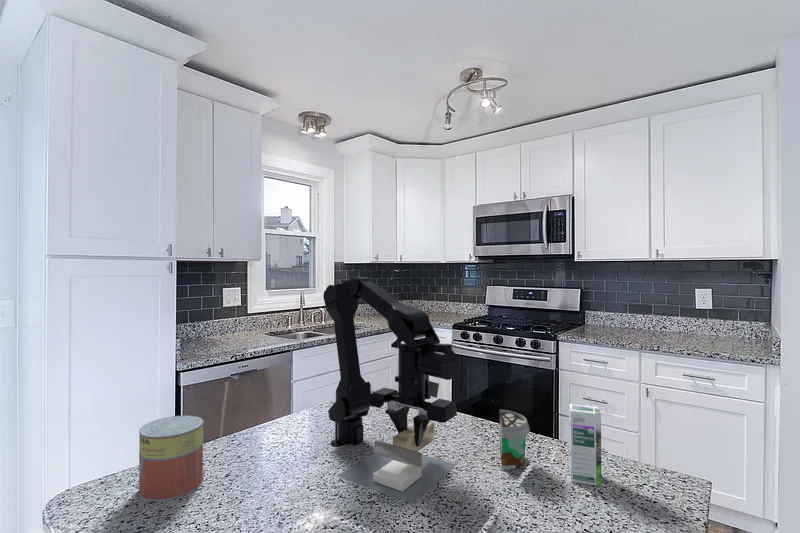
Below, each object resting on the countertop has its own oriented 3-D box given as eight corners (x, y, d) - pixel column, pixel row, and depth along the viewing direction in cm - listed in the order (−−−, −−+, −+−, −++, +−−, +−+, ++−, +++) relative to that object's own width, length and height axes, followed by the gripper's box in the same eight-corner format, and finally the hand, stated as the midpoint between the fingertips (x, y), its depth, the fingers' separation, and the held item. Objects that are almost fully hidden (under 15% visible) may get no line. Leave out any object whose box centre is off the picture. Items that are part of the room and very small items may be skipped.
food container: (532, 479, 85) (532, 430, 85) (501, 476, 86) (501, 428, 86) (526, 453, 97) (526, 410, 97) (499, 450, 98) (499, 408, 98)
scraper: (407, 433, 96) (407, 416, 96) (449, 444, 90) (449, 426, 90) (374, 453, 86) (374, 434, 86) (419, 467, 80) (419, 446, 80)
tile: (393, 467, 88) (373, 481, 82) (393, 460, 88) (373, 473, 82) (421, 477, 84) (402, 492, 78) (421, 468, 84) (402, 483, 78)
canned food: (144, 478, 85) (144, 419, 85) (204, 467, 90) (204, 412, 90) (133, 507, 75) (133, 440, 75) (202, 493, 79) (202, 431, 79)
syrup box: (570, 482, 83) (570, 410, 84) (569, 469, 89) (569, 401, 89) (601, 487, 81) (601, 414, 82) (598, 473, 87) (598, 405, 87)
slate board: (337, 479, 84) (337, 475, 84) (388, 448, 99) (388, 444, 99) (412, 508, 74) (412, 503, 74) (456, 468, 89) (456, 464, 89)
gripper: (468, 369, 89) (467, 441, 89) (396, 358, 99) (396, 423, 99) (444, 380, 80) (443, 461, 80) (368, 367, 90) (367, 439, 90)
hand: (411, 444), depth 88 cm, fingers closed on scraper, 3 cm apart
